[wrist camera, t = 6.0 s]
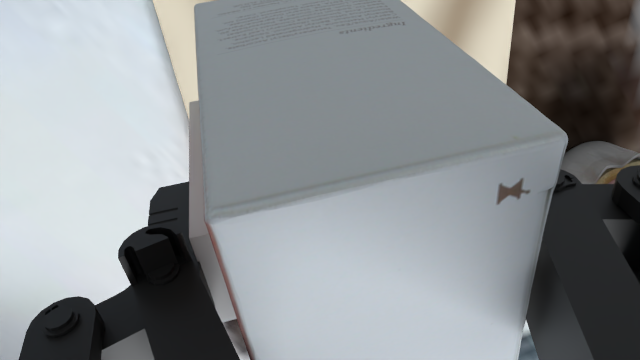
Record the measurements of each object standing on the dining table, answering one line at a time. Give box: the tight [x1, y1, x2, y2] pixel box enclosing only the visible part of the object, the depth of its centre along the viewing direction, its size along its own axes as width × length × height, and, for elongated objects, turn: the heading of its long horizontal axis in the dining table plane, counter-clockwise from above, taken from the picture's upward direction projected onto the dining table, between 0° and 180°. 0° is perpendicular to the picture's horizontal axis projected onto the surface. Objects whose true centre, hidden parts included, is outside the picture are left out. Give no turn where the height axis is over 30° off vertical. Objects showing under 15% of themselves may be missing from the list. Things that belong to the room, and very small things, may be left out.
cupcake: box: [560, 141, 640, 184], centre depth 37 cm, size 9×9×10 cm
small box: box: [194, 0, 568, 360], centre depth 13 cm, size 8×6×10 cm
